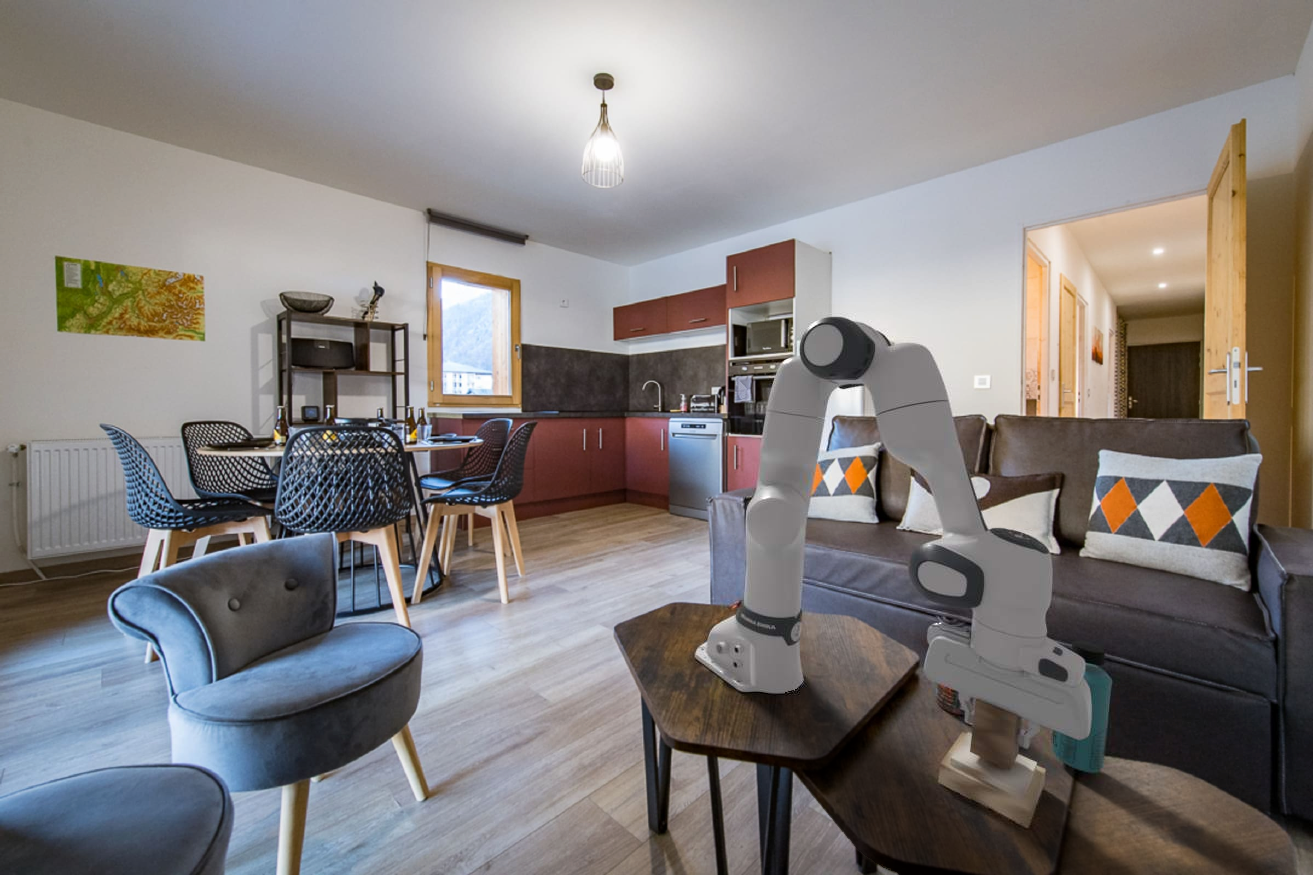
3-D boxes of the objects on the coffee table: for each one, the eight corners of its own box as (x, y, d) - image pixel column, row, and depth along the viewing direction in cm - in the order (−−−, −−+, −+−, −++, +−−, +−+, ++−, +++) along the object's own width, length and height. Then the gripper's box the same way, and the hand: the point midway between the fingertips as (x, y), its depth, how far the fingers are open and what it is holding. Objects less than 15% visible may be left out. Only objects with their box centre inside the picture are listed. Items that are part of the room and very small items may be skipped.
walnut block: (969, 751, 75) (975, 700, 75) (979, 736, 79) (984, 687, 78) (1010, 770, 72) (1016, 716, 71) (1018, 754, 75) (1024, 702, 75)
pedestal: (938, 782, 76) (940, 756, 75) (960, 749, 83) (962, 725, 83) (1028, 829, 68) (1031, 801, 68) (1043, 788, 76) (1046, 762, 75)
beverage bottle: (1112, 786, 77) (1129, 658, 75) (1062, 778, 78) (1077, 652, 76) (1085, 757, 83) (1100, 638, 81) (1039, 749, 84) (1053, 632, 83)
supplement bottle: (928, 700, 97) (933, 643, 96) (949, 694, 99) (954, 638, 98) (958, 719, 91) (964, 658, 90) (979, 712, 94) (985, 653, 93)
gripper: (922, 623, 79) (913, 708, 80) (1094, 680, 65) (1081, 783, 66) (935, 612, 84) (927, 693, 85) (1100, 664, 69) (1087, 760, 70)
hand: (996, 733), depth 75 cm, fingers closed on walnut block, 5 cm apart
